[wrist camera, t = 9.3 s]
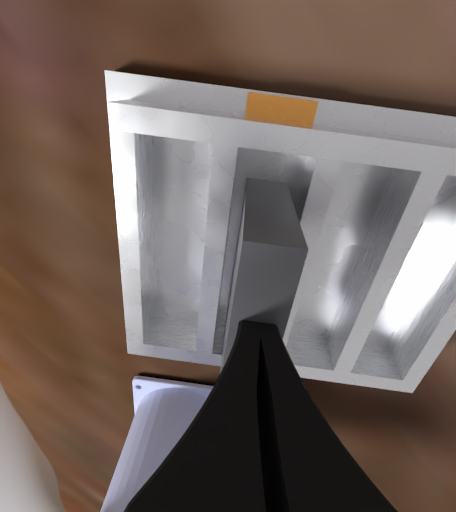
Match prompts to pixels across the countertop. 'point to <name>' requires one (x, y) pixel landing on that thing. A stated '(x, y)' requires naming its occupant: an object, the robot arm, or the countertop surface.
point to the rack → (309, 214)
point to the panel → (265, 260)
